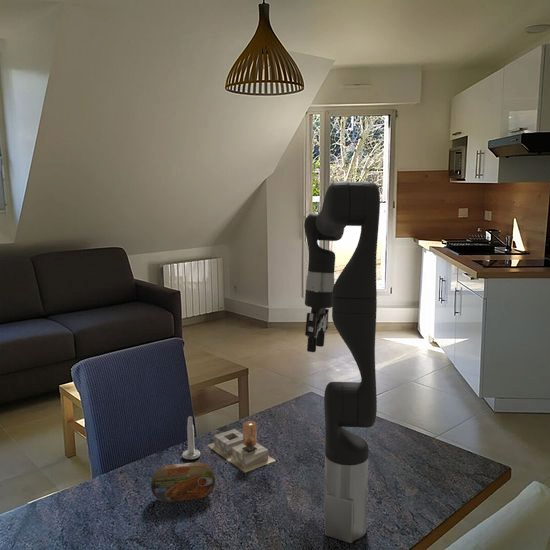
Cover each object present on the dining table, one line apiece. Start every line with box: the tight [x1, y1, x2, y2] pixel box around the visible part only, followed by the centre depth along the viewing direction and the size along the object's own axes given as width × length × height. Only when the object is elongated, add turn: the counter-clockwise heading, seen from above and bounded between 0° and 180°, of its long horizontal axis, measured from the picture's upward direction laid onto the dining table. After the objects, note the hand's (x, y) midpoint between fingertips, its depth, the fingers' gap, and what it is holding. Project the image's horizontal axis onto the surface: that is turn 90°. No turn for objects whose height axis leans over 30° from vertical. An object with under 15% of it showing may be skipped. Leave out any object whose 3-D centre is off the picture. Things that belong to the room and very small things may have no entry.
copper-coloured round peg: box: [242, 420, 258, 453], centre depth 150 cm, size 4×4×10 cm
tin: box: [150, 461, 216, 503], centre depth 134 cm, size 15×3×8 cm, turn 99°
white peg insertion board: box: [206, 428, 277, 473], centre depth 154 cm, size 19×10×4 cm, turn 38°
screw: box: [182, 415, 201, 461], centre depth 151 cm, size 13×5×5 cm
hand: (315, 348), depth 150 cm, fingers open, 8 cm apart
